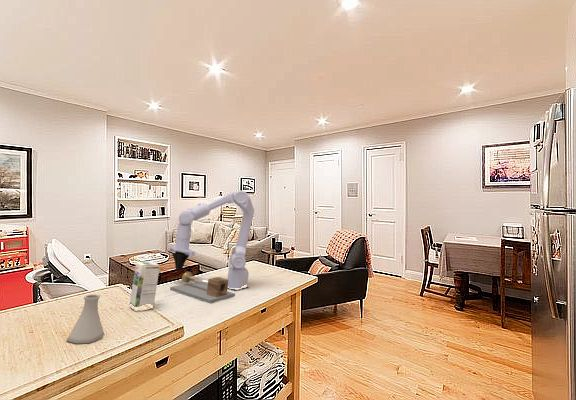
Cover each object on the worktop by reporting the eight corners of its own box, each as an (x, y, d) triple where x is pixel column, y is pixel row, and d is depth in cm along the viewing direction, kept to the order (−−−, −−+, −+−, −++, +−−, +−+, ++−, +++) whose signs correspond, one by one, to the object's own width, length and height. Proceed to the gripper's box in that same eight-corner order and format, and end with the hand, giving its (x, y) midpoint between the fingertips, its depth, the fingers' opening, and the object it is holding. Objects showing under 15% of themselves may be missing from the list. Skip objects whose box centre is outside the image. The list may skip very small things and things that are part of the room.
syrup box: (128, 306, 92) (135, 261, 93) (147, 304, 96) (153, 261, 97) (134, 312, 88) (141, 265, 89) (154, 309, 92) (160, 264, 93)
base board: (196, 284, 127) (196, 282, 127) (234, 296, 116) (235, 293, 116) (170, 289, 115) (170, 286, 115) (209, 303, 104) (210, 300, 104)
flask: (79, 330, 72) (86, 290, 73) (109, 333, 73) (115, 293, 73) (59, 343, 65) (66, 298, 66) (92, 346, 65) (99, 301, 66)
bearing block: (217, 291, 116) (219, 276, 116) (226, 294, 113) (228, 279, 114) (206, 294, 111) (208, 278, 111) (216, 297, 108) (218, 281, 109)
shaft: (189, 281, 123) (190, 271, 123) (218, 289, 115) (219, 278, 115) (181, 282, 119) (182, 272, 119) (210, 291, 111) (211, 280, 111)
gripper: (164, 236, 125) (159, 267, 124) (187, 241, 117) (182, 274, 117) (177, 236, 131) (173, 266, 130) (200, 241, 124) (195, 272, 123)
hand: (178, 270), depth 124 cm, fingers closed
